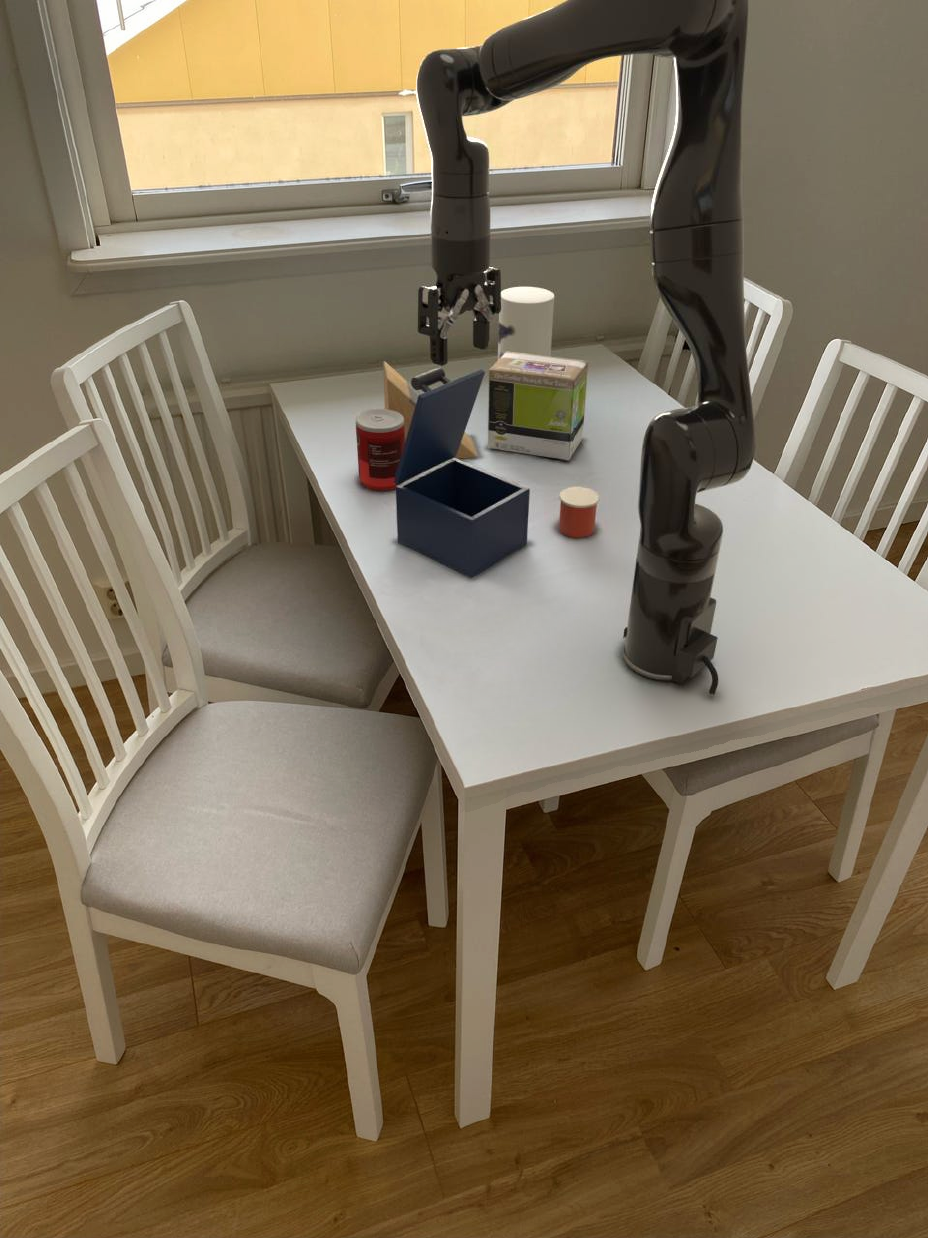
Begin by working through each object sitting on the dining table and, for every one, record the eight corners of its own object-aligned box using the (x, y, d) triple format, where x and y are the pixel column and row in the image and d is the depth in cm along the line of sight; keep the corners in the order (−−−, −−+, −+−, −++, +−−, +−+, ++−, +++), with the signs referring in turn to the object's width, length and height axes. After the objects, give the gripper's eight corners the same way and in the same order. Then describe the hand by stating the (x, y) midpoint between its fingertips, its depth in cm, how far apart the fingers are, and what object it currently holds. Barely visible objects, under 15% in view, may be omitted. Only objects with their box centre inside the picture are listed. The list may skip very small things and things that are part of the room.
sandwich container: (478, 457, 166) (480, 374, 158) (390, 463, 165) (387, 378, 156) (471, 436, 173) (472, 355, 165) (386, 441, 171) (382, 359, 163)
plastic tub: (603, 528, 147) (607, 495, 144) (580, 542, 144) (583, 509, 140) (572, 515, 151) (575, 482, 147) (549, 529, 147) (551, 496, 144)
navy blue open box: (527, 544, 143) (530, 488, 138) (471, 578, 136) (471, 520, 130) (454, 511, 151) (454, 457, 146) (397, 542, 143) (395, 486, 138)
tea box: (583, 439, 173) (590, 359, 164) (568, 462, 165) (575, 380, 157) (503, 426, 177) (506, 348, 168) (485, 449, 169) (487, 367, 161)
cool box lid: (485, 371, 134) (458, 349, 136) (422, 398, 126) (394, 374, 128) (456, 456, 145) (431, 435, 147) (397, 485, 138) (371, 462, 139)
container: (488, 391, 190) (490, 289, 179) (532, 384, 194) (538, 282, 182) (511, 410, 183) (515, 304, 171) (557, 402, 186) (564, 298, 175)
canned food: (381, 465, 164) (378, 404, 157) (416, 479, 160) (414, 417, 153) (348, 481, 159) (344, 419, 153) (384, 496, 155) (381, 433, 148)
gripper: (445, 246, 116) (446, 376, 125) (518, 225, 124) (514, 348, 134) (400, 236, 120) (404, 363, 129) (474, 216, 128) (473, 336, 138)
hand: (460, 355), depth 131 cm, fingers open, 8 cm apart
